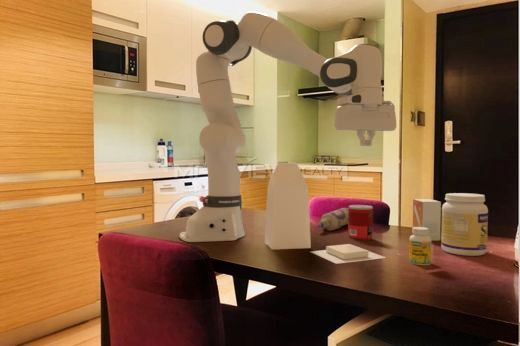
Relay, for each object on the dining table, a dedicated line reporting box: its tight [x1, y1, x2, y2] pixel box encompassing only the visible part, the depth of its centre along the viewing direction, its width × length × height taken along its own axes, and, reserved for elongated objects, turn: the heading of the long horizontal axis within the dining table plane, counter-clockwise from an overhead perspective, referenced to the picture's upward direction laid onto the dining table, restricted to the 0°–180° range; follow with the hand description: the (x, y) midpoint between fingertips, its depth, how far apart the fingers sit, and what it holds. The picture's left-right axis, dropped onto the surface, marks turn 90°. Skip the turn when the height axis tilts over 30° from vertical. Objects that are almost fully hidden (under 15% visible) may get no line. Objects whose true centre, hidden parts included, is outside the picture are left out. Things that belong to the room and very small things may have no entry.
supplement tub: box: [440, 192, 489, 257], centre depth 123 cm, size 12×12×17 cm
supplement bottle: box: [408, 226, 432, 266], centre depth 110 cm, size 5×5×10 cm
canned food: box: [347, 204, 374, 242], centre depth 142 cm, size 8×8×11 cm
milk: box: [264, 162, 312, 250], centre depth 130 cm, size 12×12×26 cm
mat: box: [310, 249, 387, 265], centre depth 118 cm, size 16×14×1 cm
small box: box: [412, 198, 442, 242], centre depth 143 cm, size 8×6×13 cm
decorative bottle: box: [316, 207, 349, 231], centre depth 161 cm, size 26×8×7 cm, turn 146°
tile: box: [325, 243, 370, 259], centre depth 118 cm, size 2×9×8 cm
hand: (365, 145), depth 127 cm, fingers closed
